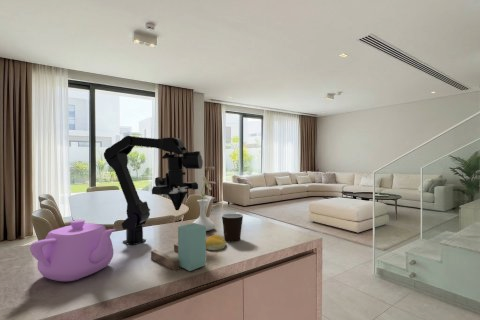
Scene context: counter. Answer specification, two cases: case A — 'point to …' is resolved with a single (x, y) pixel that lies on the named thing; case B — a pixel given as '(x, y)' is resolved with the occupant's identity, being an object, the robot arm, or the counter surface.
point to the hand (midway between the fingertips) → (177, 210)
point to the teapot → (73, 251)
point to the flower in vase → (202, 218)
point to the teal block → (192, 246)
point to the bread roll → (215, 242)
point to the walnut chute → (167, 258)
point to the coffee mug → (232, 226)
